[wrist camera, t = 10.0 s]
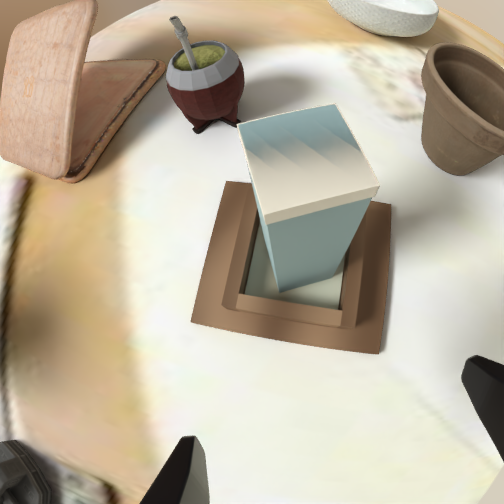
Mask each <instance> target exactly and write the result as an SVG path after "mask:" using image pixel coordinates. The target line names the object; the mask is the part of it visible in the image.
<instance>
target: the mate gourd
mask: <svg viewBox="0 0 504 504" xmlns="http://www.w3.org/2000/svg"><path fill="white" fill-rule="evenodd" d="M169 20H170V21H171V23H172V24H173V25H174V27H175V34H176V36H177V38H178V39H179V40H180V41H181V44H182V46H183V48H182V49H181V50H179V51H178V52H176V54H175V55H174V56H173V57H172V58H171V60H170V62H169V64H168V68H167V73H166V80H167V87H168V90H169V93H170V94H171V96H172V98H173V100H174V101H175V103H176V105H177V106H178V107H179V108H180V109H181V111H182V112H183V114H184V116H185V117H186V118H187V119H188V121H189V122H190V123H192V124H193V125H194V128H193V131H194V132H195V133H196V134H199V133H201V132H202V131H203V130H204V129H205V128H206V127H207V126H209V125H210V124H211V123H212V122H213V121H214V120H216V119H219V120H221V121H223V122H225V123H227V124H229V125H231V126H233V127H235V128H236V127H237V125H236V124H239V123H241V121H240V120H239V119H237V108H238V105H237V104H238V102H239V100H240V98H241V95H242V92H243V89H244V84H245V83H244V71H243V66H242V63H241V61H240V60H239V58H238V55H237V54H236V53H235V52H234V51H233V50H232V49H231V48H230V47H228V46H227V45H226V44H224V43H221V42H217V41H201V42H196V43H193V44H190V43H189V41H188V38H187V37H188V33H187V30H186V28H185V27H184V26H183V25H182V23H181V21H180V19H179V18H178V17H177V16H173V17H171V18H170V19H169Z"/></svg>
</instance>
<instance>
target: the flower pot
mask: <svg viewBox="0 0 504 504" xmlns="http://www.w3.org/2000/svg"><path fill="white" fill-rule="evenodd" d="M421 77H422V83H423V87H424V89H425V92H426V101H425V108H424V115H423V123H422V134H421V140H422V145H423V148H424V150H425V152H426V154H427V155H428V157H429V158H430V159H431V161H432V162H433V163H434V164H435V165H436V166H438V167H439V168H440V169H442V170H444V171H445V172H448V173H450V174H453V175H465V174H468V173H470V172H472V171H474V170H476V169H478V168H480V167H482V166H484V165H486V164H487V163H489V162H491V161H493V160H494V159H496V158H497V157H499V156H501V155H504V69H503V68H502V67H501V66H499V65H498V64H497V63H495V62H494V61H493V60H491V59H490V58H488V57H487V56H485V55H483V54H482V53H480V52H478V51H476V50H474V49H471V48H469V47H466V46H463V45H460V44H456V43H448V42H444V43H438V44H435V45H433V46H432V47H431V48H430V49H429V51H428V53H427V55H426V60H425V63H424V66H423V69H422V74H421Z"/></svg>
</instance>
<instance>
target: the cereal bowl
mask: <svg viewBox="0 0 504 504" xmlns="http://www.w3.org/2000/svg"><path fill="white" fill-rule="evenodd" d="M328 2H329V4H330V5H331V7H332V8H333V9H334V10H335V11H336V12H337V13H338V14H339V15H340V16H342V17H343V18H345V19H346V20H348V21H350V22H352V23H354V24H356V25H357V26H358V27H360V28H362V29H364V30H366V31H368V32H371V33H374V34H378V35H383V36H399V37H411V36H417V35H421V34H423V33H426V32H427V31H429V29H431V27H432V26H433V25H434V23H435V21H436V18H437V16H438V12H439V8H438V6H437V4H436V3H435V2H434V1H433V0H328Z"/></svg>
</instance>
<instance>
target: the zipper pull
mask: <svg viewBox="0 0 504 504" xmlns="http://www.w3.org/2000/svg"><path fill="white" fill-rule="evenodd" d="M50 502H51V489H50V487H49V485H48V483H47V481H46V480H45V478H44V476H43V474H42V472H41V470H40V469H39V467H38V466H37V465H36V463H35V462H34V461H33V459H32V458H31V456H30V455H29V454H28V453H27V452H26V451H25V450H24V449H23V448H22V447H21V446H20V445H19V444H18V443H17V441H16V440H11V441H4V442H0V504H50Z"/></svg>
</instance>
